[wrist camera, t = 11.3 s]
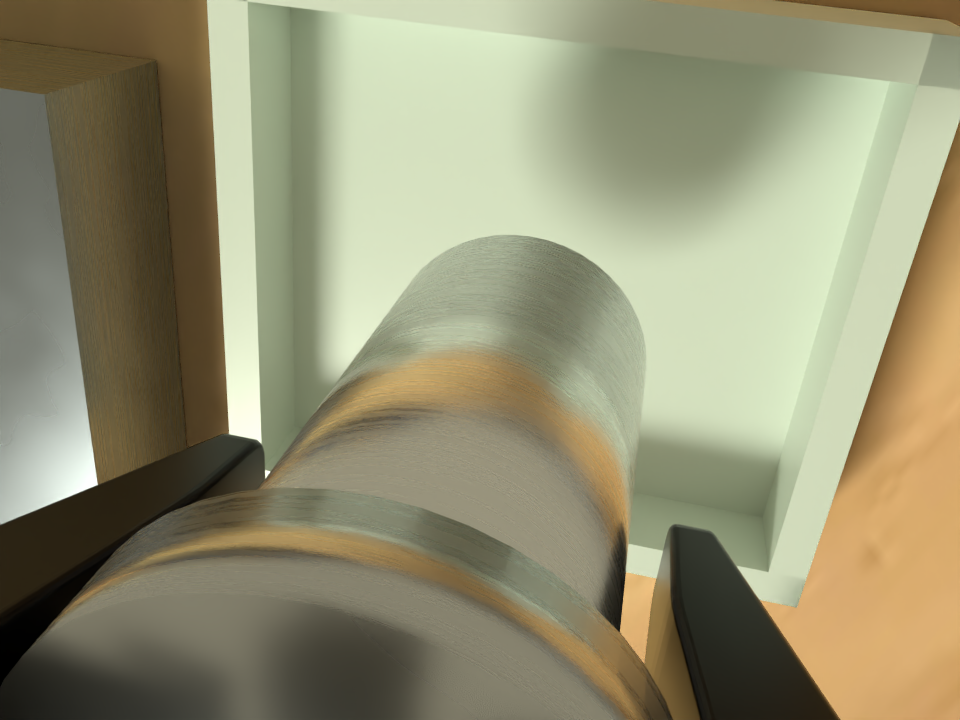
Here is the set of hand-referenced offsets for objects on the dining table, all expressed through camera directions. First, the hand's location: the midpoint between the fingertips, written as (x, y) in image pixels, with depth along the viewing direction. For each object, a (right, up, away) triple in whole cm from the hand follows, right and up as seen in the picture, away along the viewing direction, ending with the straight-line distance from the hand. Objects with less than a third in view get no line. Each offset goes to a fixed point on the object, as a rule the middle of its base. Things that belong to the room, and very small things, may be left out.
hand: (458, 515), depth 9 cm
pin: (+1, +2, +3) cm, 4 cm away
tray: (+1, +3, +6) cm, 7 cm away
